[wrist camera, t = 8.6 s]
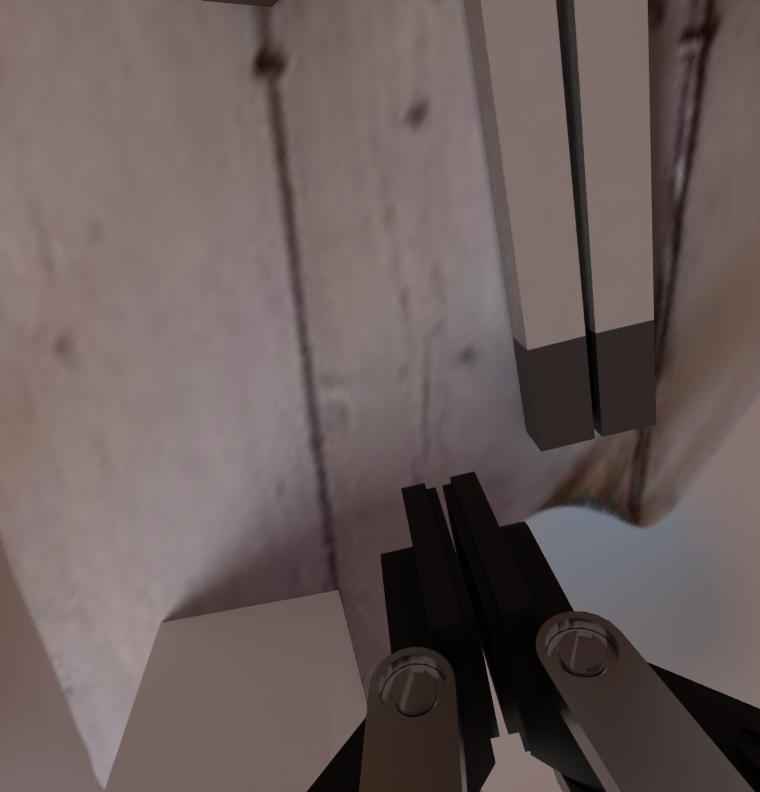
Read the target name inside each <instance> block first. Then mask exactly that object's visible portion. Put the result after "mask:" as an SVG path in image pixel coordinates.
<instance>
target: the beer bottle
mask: <svg viewBox="0 0 760 792" xmlns="http://www.w3.org/2000/svg"><path fill="white" fill-rule="evenodd" d="M203 1H213V2H224V3H235V4H246V5H257V6H268V7H273V5H274V4H275V3H276V2H277V1H278V0H203Z"/></svg>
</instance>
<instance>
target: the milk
mask: <svg viewBox="0 0 760 792" xmlns="http://www.w3.org/2000/svg"><path fill="white" fill-rule="evenodd" d="M366 714H367V702H366V698H365V694H364V690H363V686H362V682H361V678H360V674H359V670H358V666H357V662H356V658H355V654H354V650H353V646H352V642H351V638H350V634H349V630H348V626H347V622H346V618H345V614H344V610H343V606H342V602H341V598H340V594H339V590H336V591H331V592H325V593H320V594H314V595H309V596H303V597H298V598H292V599H287V600H281V601H276V602H271V603H265V604H260V605H254V606H249V607H243V608H238V609H232V610H227V611H221V612H216V613H210V614H205V615H199V616H194V617H188V618H183V619H178V620H172V621H167V622H161V623H160V626H159V629H158V632H157V635H156V638H155V641H154V644H153V647H152V650H151V653H150V656H149V659H148V662H147V665H146V668H145V671H144V674H143V677H142V680H141V683H140V686H139V689H138V692H137V695H136V698H135V701H134V704H133V707H132V710H131V713H130V716H129V719H128V722H127V725H126V728H125V731H124V734H123V737H122V740H121V743H120V746H119V749H118V752H117V755H116V758H115V761H114V764H113V767H112V770H111V773H110V776H109V779H108V782H107V785H106V788H105V791H104V792H307V790H308V789H309V788H310V787H311V785H312V784H313V783H314V782H315V780H316V779H317V778H318V777H319V775H320V774H321V773H322V772H323V770H324V769H325V768H326V767H327V765H328V764H329V763H330V762H331V760H332V759H333V758H334V756H335V755H336V754H337V753H338V751H339V750H340V749H341V748H342V746H343V745H344V744H345V743H346V741H347V740H348V739H349V738H350V736H351V735H352V734H353V733H354V731H355V730H356V729H357V728H358V726H359V725H360V724H361V722H362V721H363V720H364V719H365V717H366Z"/></svg>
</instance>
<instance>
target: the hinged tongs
mask: <svg viewBox="0 0 760 792" xmlns="http://www.w3.org/2000/svg"><path fill="white" fill-rule="evenodd" d="M556 7H557V18H558V29H559V41H560V52H561V63H562V74H563V86H564V97H565V108H566V120H567V131H568V142H569V154H570V165H571V176H572V187H573V199H574V210H575V221H576V233H577V244H578V255H579V267H580V278H581V289H582V300H583V312H584V323H585V334H586V346H587V357H588V368H589V379H590V391H591V402H592V413H593V425H594V429H595V430H596V431H597V432H598V433H599V434H600V435H601V436H602V437H603V436H607V435H612V434H616V433H620V432H625V431H629V430H633V429H638V428H642V427H646V426H651V425H655V424H656V397H655V346H654V296H653V246H652V196H651V146H650V96H649V46H648V0H556Z"/></svg>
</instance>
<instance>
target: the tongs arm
mask: <svg viewBox="0 0 760 792" xmlns="http://www.w3.org/2000/svg"><path fill="white" fill-rule="evenodd" d="M464 3H465V10H466V17H467V24H468V31H469V38H470V45H471V52H472V58H473V65H474V72H475V79H476V86H477V93H478V100H479V107H480V114H481V121H482V128H483V135H484V141H485V148H486V155H487V162H488V169H489V176H490V183H491V190H492V197H493V204H494V211H495V218H496V225H497V231H498V238H499V245H500V252H501V259H502V266H503V273H504V280H505V287H506V294H507V301H508V308H509V315H510V321H511V328H512V335H513V342H514V349H515V356H516V363H517V370H518V377H519V384H520V391H521V398H522V404H523V411H524V418H525V425H526V432H527V433H528V434H529V436H530V437H531V438H532V440H533V441H534V442H535V444H536V445H537V446H538V448H539V449H540V450H541V451H545V450H549V449H554V448H558V447H562V446H566V445H570V444H574V443H578V442H582V441H586V440H590V439H594V438H595V436H594V425H593V413H592V402H591V391H590V379H589V368H588V357H587V346H586V334H585V323H584V312H583V300H582V289H581V278H580V267H579V255H578V244H577V233H576V221H575V210H574V199H573V187H572V176H571V165H570V154H569V142H568V131H567V120H566V108H565V97H564V86H563V74H562V63H561V52H560V41H559V29H558V18H557V7H556V0H464Z"/></svg>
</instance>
